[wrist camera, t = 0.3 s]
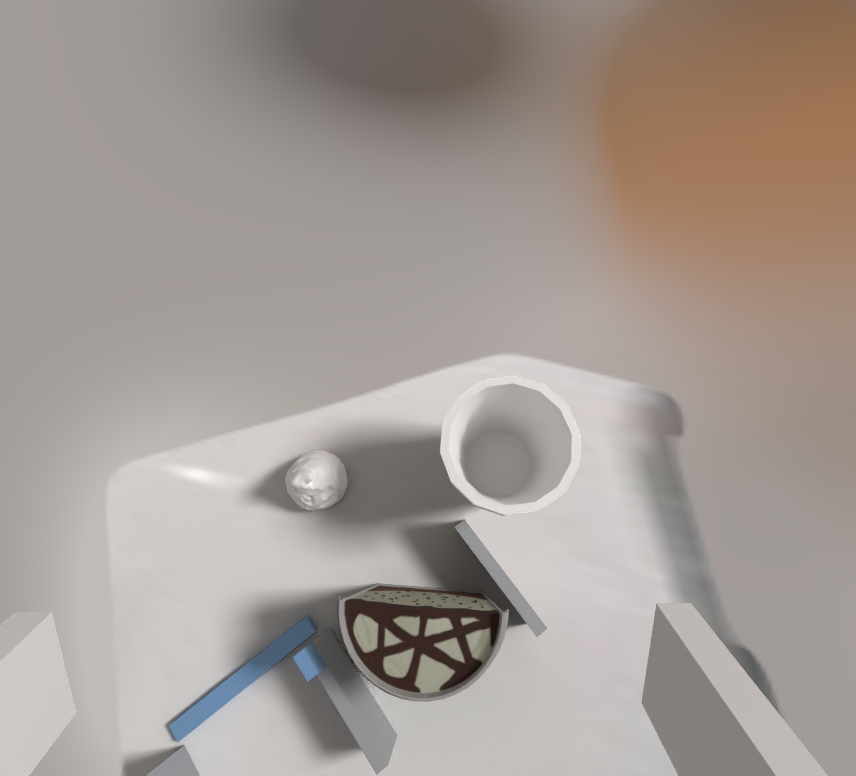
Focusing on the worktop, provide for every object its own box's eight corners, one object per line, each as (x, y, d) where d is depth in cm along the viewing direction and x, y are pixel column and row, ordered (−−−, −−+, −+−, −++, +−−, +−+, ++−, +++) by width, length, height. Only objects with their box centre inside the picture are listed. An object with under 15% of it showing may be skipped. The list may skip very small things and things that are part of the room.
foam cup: (451, 410, 46) (447, 370, 34) (549, 419, 45) (581, 380, 33) (442, 511, 44) (434, 507, 31) (545, 522, 43) (579, 522, 30)
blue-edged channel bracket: (537, 615, 41) (551, 634, 34) (234, 874, 37) (183, 951, 31) (450, 501, 44) (448, 497, 37) (162, 730, 41) (103, 772, 34)
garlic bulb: (278, 519, 39) (261, 456, 40) (302, 519, 45) (286, 464, 46) (341, 494, 39) (321, 432, 40) (357, 497, 45) (339, 443, 46)
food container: (353, 658, 41) (320, 700, 31) (361, 581, 43) (331, 599, 33) (498, 672, 40) (510, 719, 30) (500, 592, 42) (511, 614, 32)
